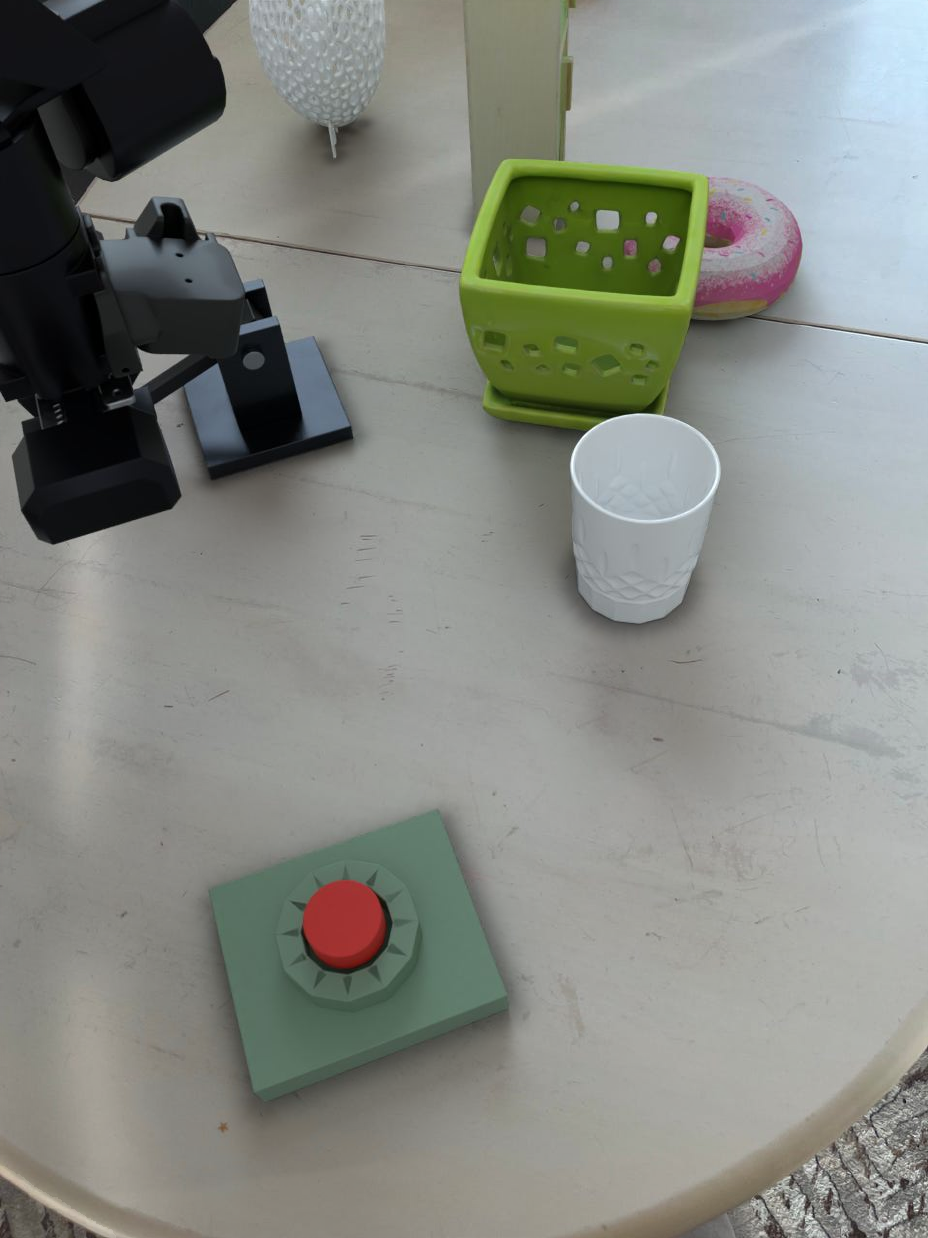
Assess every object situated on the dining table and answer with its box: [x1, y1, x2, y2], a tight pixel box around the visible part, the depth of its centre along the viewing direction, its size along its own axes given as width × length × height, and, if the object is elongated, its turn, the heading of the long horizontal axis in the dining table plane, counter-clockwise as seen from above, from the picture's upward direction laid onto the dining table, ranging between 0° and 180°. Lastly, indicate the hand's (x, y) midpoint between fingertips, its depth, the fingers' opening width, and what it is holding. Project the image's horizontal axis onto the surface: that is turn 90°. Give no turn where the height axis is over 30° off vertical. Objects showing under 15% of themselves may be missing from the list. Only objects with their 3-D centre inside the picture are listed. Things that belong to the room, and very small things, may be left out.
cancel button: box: [303, 880, 386, 969], centre depth 48 cm, size 4×4×2 cm
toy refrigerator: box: [462, 0, 578, 230], centre depth 78 cm, size 8×7×21 cm
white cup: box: [569, 414, 722, 625], centre depth 60 cm, size 8×8×10 cm
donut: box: [624, 176, 803, 321], centre depth 78 cm, size 14×13×5 cm
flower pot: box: [458, 159, 709, 432], centre depth 69 cm, size 14×14×13 cm
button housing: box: [208, 808, 509, 1103], centre depth 51 cm, size 12×10×4 cm
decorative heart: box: [248, 0, 387, 159], centre depth 88 cm, size 18×11×17 cm, turn 179°
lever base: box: [182, 278, 354, 481], centre depth 71 cm, size 10×10×9 cm
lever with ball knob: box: [139, 299, 264, 406], centre depth 70 cm, size 15×3×3 cm, turn 109°
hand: (128, 492), depth 56 cm, fingers closed
